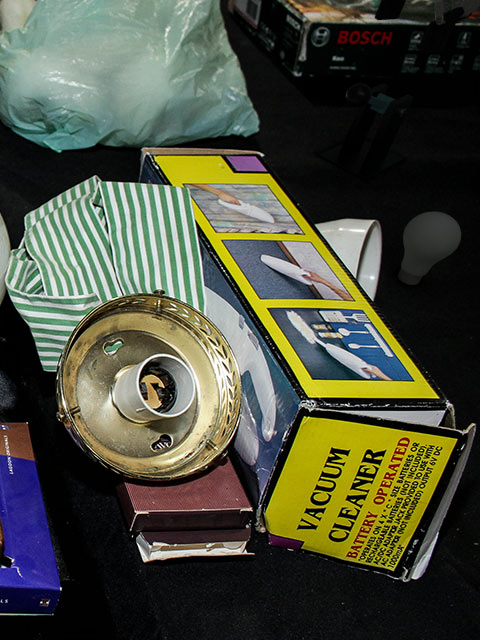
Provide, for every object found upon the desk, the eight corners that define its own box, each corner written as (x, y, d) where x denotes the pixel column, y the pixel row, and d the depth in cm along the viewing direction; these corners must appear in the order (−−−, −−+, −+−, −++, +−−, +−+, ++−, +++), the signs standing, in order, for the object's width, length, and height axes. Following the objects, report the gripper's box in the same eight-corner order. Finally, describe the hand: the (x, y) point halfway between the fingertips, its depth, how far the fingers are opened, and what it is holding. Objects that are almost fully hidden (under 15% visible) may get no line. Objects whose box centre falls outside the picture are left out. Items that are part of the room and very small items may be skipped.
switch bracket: (362, 185, 131) (394, 114, 123) (316, 161, 136) (344, 91, 128) (401, 165, 135) (435, 95, 127) (355, 142, 140) (385, 74, 132)
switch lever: (357, 109, 121) (371, 87, 119) (337, 99, 123) (350, 78, 121) (391, 120, 129) (404, 100, 128) (371, 111, 131) (385, 91, 130)
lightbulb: (433, 280, 115) (473, 211, 107) (426, 306, 111) (467, 237, 104) (383, 264, 117) (419, 196, 110) (375, 289, 113) (411, 220, 106)
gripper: (549, -82, 96) (475, 64, 108) (452, -129, 109) (395, 6, 120) (487, -79, 95) (419, 67, 107) (396, -127, 108) (344, 8, 120)
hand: (406, 35), depth 114 cm, fingers open, 9 cm apart
